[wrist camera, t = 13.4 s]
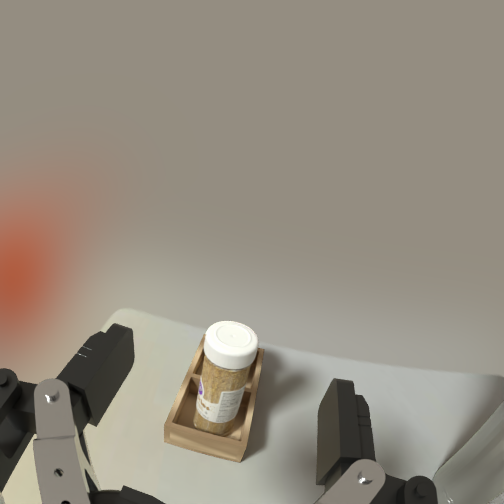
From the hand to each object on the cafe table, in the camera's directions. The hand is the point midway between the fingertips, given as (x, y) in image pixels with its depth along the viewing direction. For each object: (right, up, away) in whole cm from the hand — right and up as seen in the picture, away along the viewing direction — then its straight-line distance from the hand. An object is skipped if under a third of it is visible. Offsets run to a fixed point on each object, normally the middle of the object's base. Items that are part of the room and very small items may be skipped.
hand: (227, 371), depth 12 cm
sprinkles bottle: (-3, -15, +20) cm, 25 cm away
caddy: (-3, -13, +24) cm, 27 cm away
